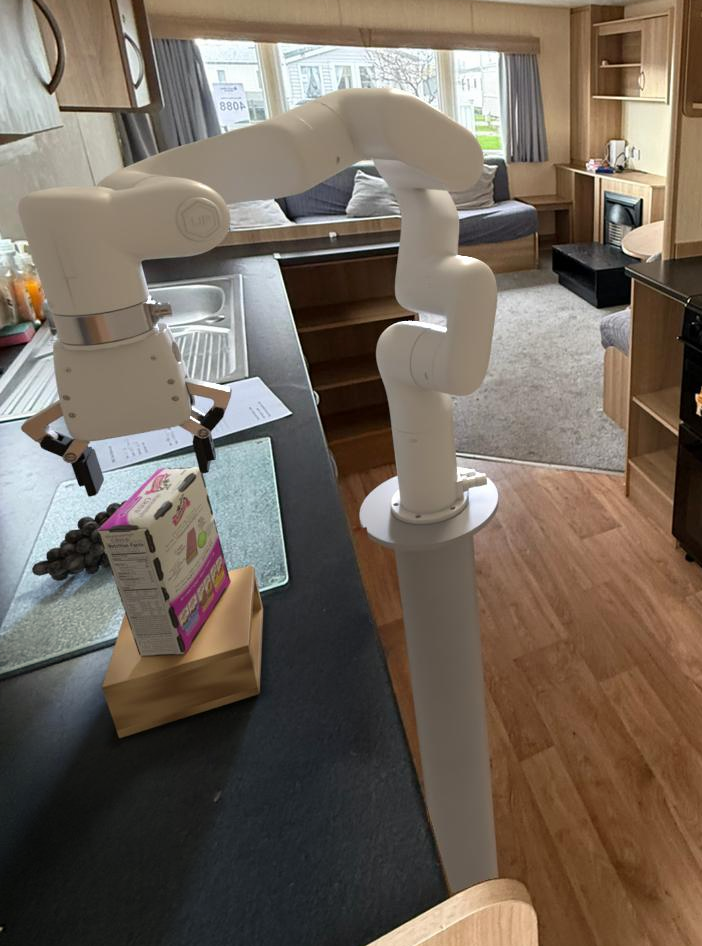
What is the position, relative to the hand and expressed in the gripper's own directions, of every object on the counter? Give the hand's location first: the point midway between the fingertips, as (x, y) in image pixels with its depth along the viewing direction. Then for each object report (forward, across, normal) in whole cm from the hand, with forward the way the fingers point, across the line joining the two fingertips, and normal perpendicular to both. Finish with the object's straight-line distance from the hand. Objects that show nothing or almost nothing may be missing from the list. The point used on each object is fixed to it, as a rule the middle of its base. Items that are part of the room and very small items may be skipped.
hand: (153, 477), depth 67 cm
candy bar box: (+18, 0, 0) cm, 18 cm away
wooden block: (+25, +1, +1) cm, 25 cm away
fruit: (+26, +15, -25) cm, 39 cm away
